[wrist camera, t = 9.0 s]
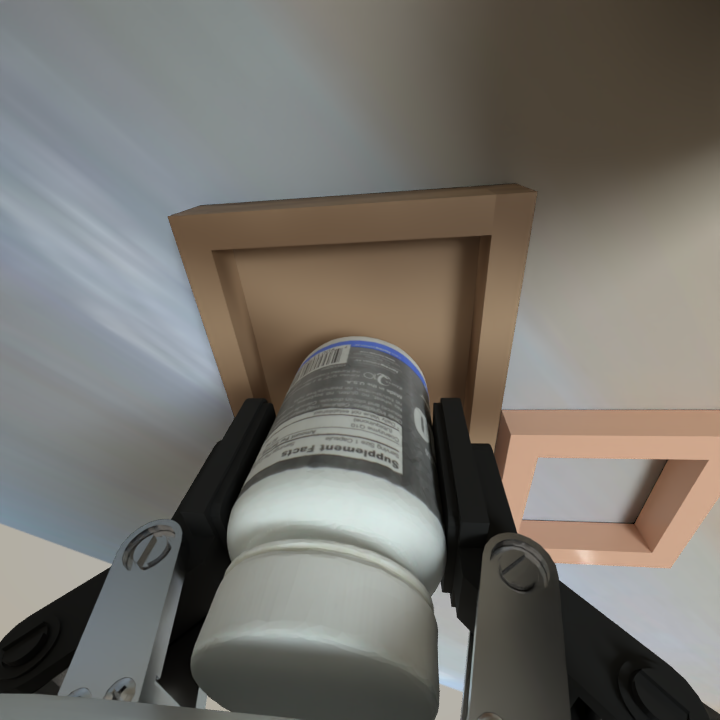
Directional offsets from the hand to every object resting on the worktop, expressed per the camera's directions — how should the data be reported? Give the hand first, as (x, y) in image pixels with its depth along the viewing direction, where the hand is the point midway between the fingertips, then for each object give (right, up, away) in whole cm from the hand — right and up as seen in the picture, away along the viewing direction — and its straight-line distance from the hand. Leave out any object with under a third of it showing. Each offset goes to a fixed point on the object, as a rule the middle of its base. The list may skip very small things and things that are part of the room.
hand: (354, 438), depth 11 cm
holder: (+11, -3, +6) cm, 13 cm away
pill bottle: (0, +1, +2) cm, 2 cm away
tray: (0, +2, +4) cm, 4 cm away
